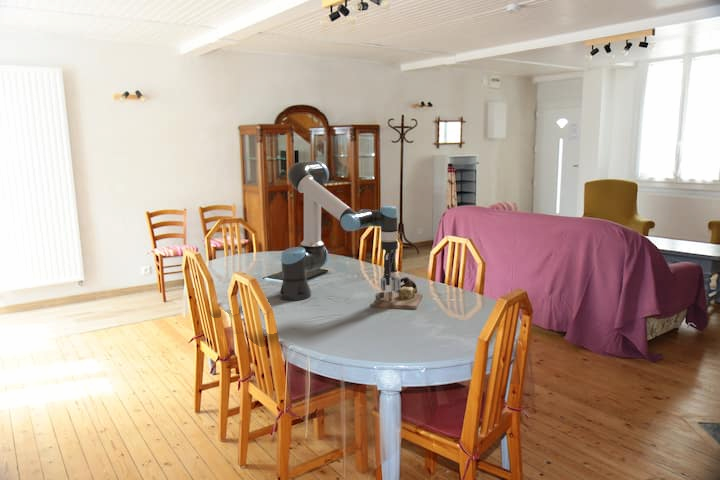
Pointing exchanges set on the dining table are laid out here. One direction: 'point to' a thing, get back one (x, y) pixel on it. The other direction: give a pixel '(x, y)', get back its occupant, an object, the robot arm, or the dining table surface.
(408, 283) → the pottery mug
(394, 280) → the planet gear
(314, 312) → the dining table surface
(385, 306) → the carrier plate
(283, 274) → the robot arm
